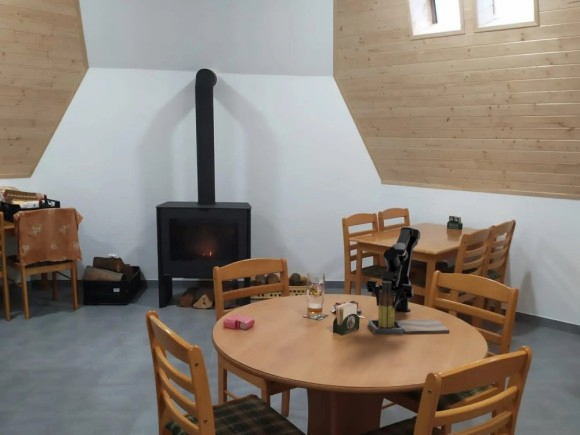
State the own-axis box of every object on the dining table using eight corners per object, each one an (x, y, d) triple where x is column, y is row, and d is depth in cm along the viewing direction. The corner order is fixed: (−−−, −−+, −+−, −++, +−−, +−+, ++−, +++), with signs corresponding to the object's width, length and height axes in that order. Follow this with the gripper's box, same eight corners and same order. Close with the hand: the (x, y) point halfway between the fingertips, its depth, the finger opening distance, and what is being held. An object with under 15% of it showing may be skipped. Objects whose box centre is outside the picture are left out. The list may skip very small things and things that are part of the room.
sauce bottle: (393, 326, 208) (395, 279, 205) (394, 332, 202) (397, 283, 199) (376, 325, 209) (379, 278, 206) (377, 331, 202) (380, 282, 200)
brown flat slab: (395, 322, 213) (395, 320, 213) (436, 321, 215) (437, 319, 215) (405, 333, 200) (405, 331, 200) (449, 332, 202) (449, 330, 202)
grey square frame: (368, 324, 210) (368, 319, 210) (395, 323, 211) (395, 319, 211) (375, 334, 199) (375, 329, 199) (403, 333, 200) (403, 328, 200)
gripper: (367, 260, 209) (358, 293, 201) (413, 265, 201) (406, 299, 193) (372, 275, 217) (364, 307, 209) (416, 280, 210) (409, 314, 201)
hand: (385, 306), depth 203 cm, fingers closed on sauce bottle, 6 cm apart
